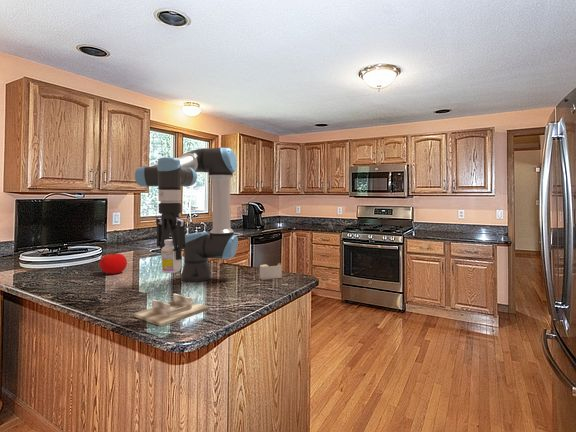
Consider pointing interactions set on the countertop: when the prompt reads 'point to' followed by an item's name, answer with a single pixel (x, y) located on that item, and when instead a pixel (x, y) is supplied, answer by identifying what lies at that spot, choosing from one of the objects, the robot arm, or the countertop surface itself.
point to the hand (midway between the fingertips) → (171, 267)
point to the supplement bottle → (168, 257)
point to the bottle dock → (170, 310)
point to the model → (270, 272)
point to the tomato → (113, 263)
